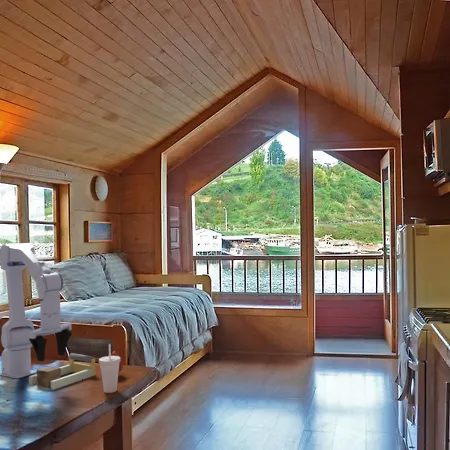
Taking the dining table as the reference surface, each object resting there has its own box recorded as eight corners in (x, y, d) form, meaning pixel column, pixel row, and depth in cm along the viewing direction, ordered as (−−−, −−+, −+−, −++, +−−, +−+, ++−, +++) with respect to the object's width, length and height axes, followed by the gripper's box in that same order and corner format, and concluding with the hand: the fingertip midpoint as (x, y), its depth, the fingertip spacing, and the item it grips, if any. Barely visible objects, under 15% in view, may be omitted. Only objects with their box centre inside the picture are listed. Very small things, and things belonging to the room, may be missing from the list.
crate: (36, 385, 163) (36, 369, 163) (50, 381, 168) (49, 365, 168) (47, 388, 160) (47, 371, 160) (61, 383, 165) (60, 367, 165)
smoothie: (101, 395, 152) (100, 347, 152) (97, 389, 158) (96, 343, 158) (123, 392, 154) (122, 344, 154) (118, 386, 160) (117, 340, 160)
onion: (119, 378, 168) (118, 354, 168) (102, 378, 169) (101, 353, 169) (126, 373, 174) (125, 349, 174) (109, 373, 175) (109, 349, 175)
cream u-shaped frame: (29, 384, 165) (28, 364, 165) (72, 370, 179) (72, 352, 179) (53, 389, 159) (52, 369, 158) (96, 374, 173) (96, 356, 173)
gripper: (39, 318, 150) (40, 365, 150) (78, 310, 162) (78, 353, 163) (23, 316, 154) (24, 362, 154) (62, 308, 166) (63, 351, 166)
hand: (51, 357), depth 158 cm, fingers open, 7 cm apart
